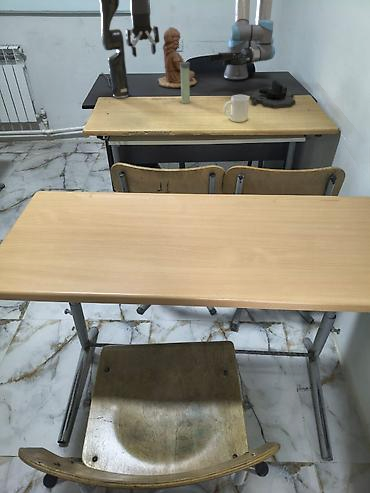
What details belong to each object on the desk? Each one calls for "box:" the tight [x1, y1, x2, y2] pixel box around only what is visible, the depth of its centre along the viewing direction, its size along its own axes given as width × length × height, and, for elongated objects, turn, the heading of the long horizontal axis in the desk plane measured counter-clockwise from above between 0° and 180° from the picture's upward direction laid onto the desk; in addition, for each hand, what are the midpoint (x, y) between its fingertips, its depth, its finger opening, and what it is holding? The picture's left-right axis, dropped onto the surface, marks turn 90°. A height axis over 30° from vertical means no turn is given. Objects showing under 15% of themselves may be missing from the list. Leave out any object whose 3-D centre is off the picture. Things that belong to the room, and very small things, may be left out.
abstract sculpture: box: [249, 79, 296, 109], centre depth 189 cm, size 25×9×20 cm
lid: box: [180, 61, 191, 69], centre depth 184 cm, size 5×5×2 cm
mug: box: [222, 94, 250, 123], centre depth 170 cm, size 12×8×10 cm
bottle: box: [180, 67, 191, 104], centre depth 189 cm, size 4×4×19 cm
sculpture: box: [157, 27, 198, 89], centre depth 214 cm, size 27×24×30 cm
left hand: (144, 55), depth 157 cm, fingers open, 8 cm apart
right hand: (216, 60), depth 188 cm, fingers open, 13 cm apart
